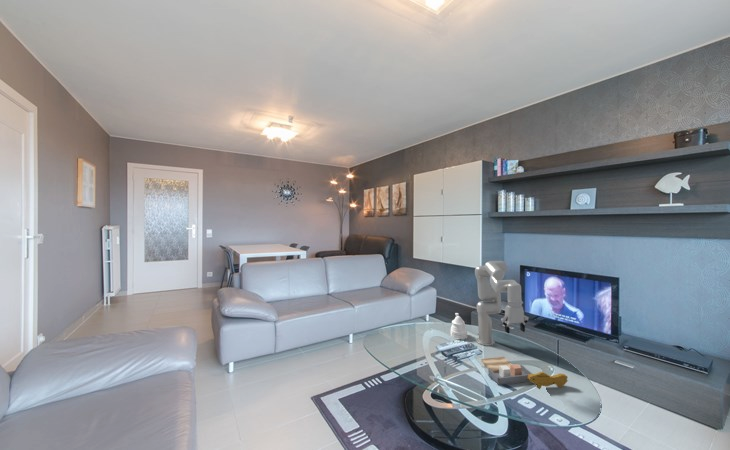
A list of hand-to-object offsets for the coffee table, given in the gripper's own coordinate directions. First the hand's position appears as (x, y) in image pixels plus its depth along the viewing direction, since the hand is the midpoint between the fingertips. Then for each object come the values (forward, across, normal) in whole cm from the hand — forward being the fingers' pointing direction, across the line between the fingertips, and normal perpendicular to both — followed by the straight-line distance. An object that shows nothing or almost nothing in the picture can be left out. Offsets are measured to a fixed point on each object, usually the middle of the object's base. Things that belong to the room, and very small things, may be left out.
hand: (515, 331), depth 175 cm
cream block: (+28, +7, 0) cm, 28 cm away
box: (+28, +4, 0) cm, 29 cm away
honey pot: (+29, +10, -60) cm, 67 cm away
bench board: (+28, +4, -13) cm, 31 cm away
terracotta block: (+28, 0, 0) cm, 28 cm away
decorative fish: (+29, -12, +12) cm, 33 cm away
